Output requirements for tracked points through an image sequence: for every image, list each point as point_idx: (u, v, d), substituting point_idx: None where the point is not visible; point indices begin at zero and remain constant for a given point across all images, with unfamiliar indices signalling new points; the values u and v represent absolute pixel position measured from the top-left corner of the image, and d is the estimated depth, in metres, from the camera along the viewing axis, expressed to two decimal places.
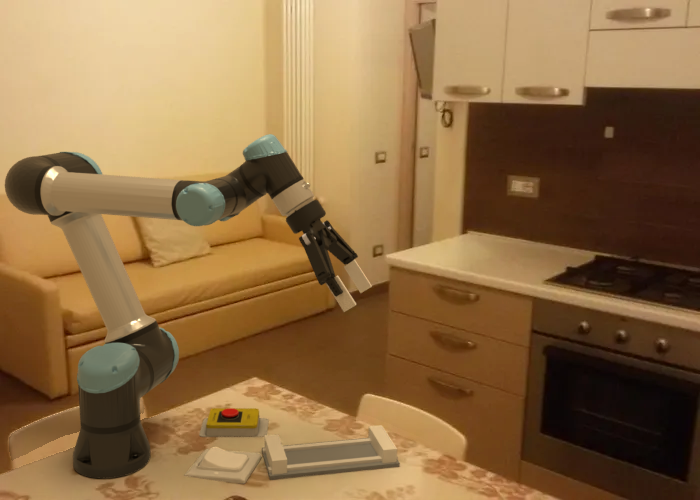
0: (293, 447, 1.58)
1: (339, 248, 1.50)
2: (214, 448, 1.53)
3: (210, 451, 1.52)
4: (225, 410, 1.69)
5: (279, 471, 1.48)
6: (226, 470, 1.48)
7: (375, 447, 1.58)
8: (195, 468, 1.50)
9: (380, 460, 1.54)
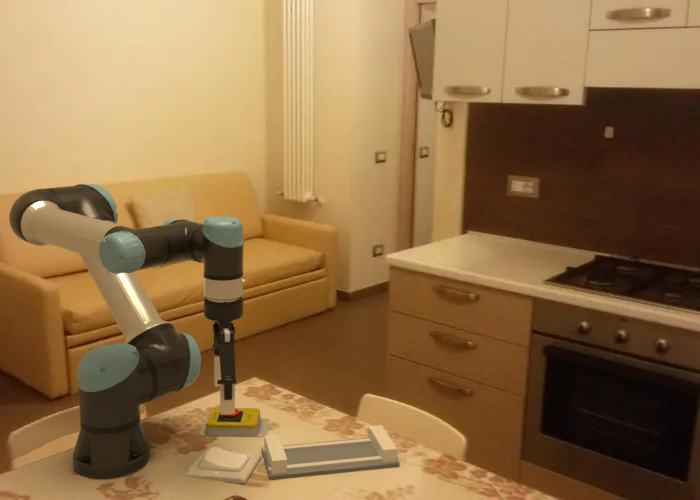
0: (293, 447, 1.58)
1: None
2: (214, 448, 1.53)
3: (210, 451, 1.52)
4: None
5: (279, 471, 1.48)
6: (226, 470, 1.48)
7: (375, 447, 1.58)
8: (195, 468, 1.50)
9: (380, 460, 1.54)
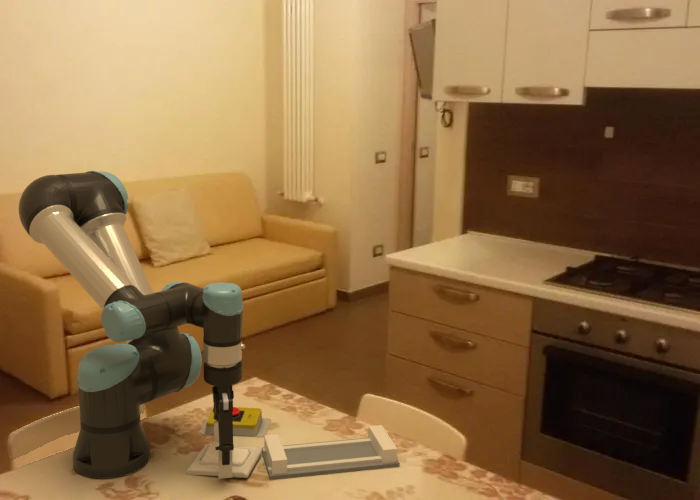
0: (293, 447, 1.58)
1: None
2: (215, 443, 1.54)
3: (211, 446, 1.53)
4: None
5: (279, 471, 1.48)
6: None
7: (375, 447, 1.58)
8: (197, 463, 1.50)
9: (380, 460, 1.54)
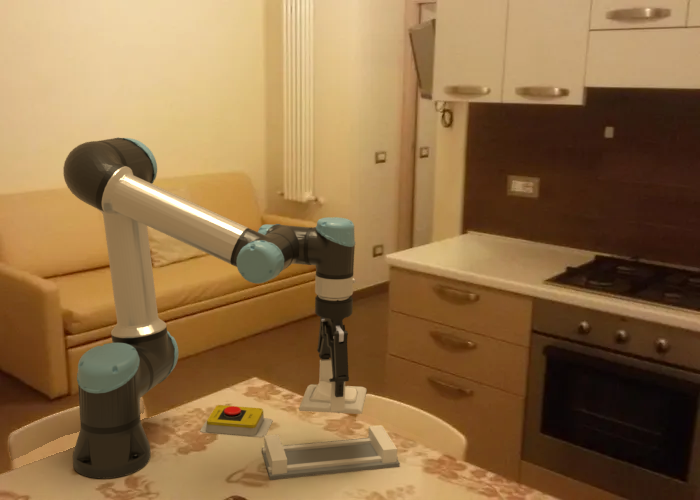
0: (293, 447, 1.58)
1: None
2: (323, 382, 1.56)
3: (320, 385, 1.54)
4: (228, 408, 1.70)
5: (279, 471, 1.48)
6: None
7: (375, 447, 1.58)
8: (308, 401, 1.52)
9: (380, 460, 1.54)
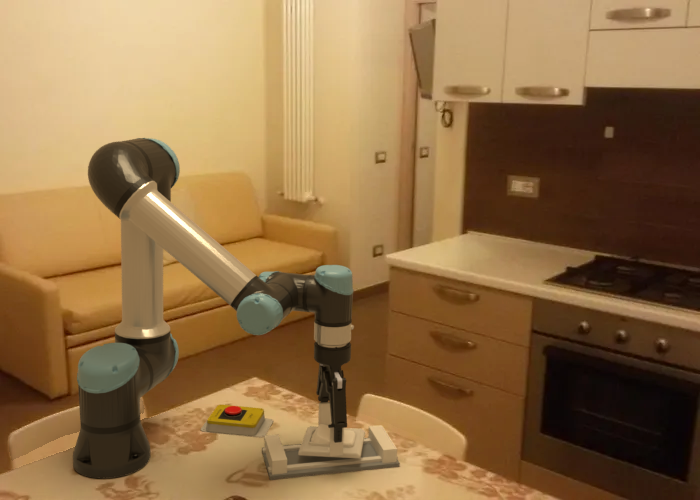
0: (293, 447, 1.58)
1: None
2: (322, 425, 1.58)
3: (320, 428, 1.56)
4: (229, 407, 1.70)
5: (279, 471, 1.48)
6: None
7: (375, 447, 1.58)
8: (307, 445, 1.54)
9: (380, 460, 1.54)
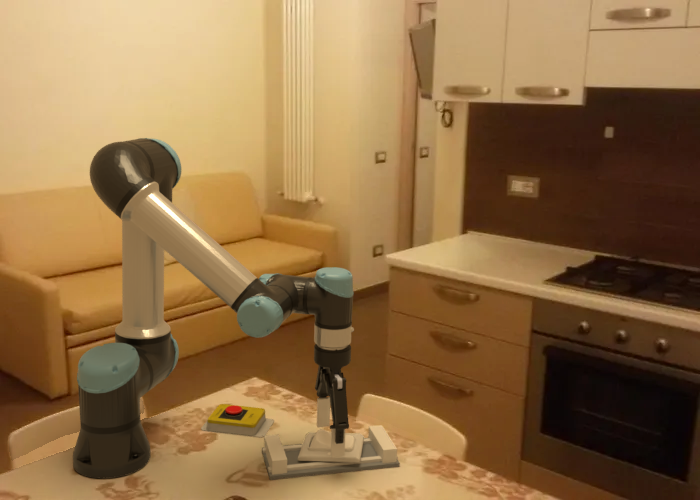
0: (293, 447, 1.58)
1: None
2: (321, 430, 1.58)
3: (318, 433, 1.57)
4: (230, 407, 1.70)
5: (279, 471, 1.48)
6: None
7: (375, 447, 1.58)
8: (307, 450, 1.54)
9: (380, 460, 1.54)
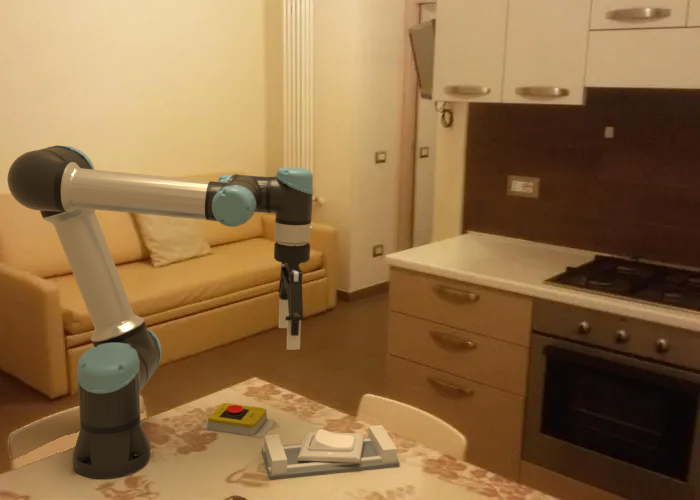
0: (293, 447, 1.58)
1: None
2: (321, 430, 1.58)
3: (318, 433, 1.57)
4: (231, 406, 1.71)
5: (279, 471, 1.48)
6: (339, 450, 1.53)
7: (375, 447, 1.58)
8: (307, 450, 1.54)
9: (380, 460, 1.54)
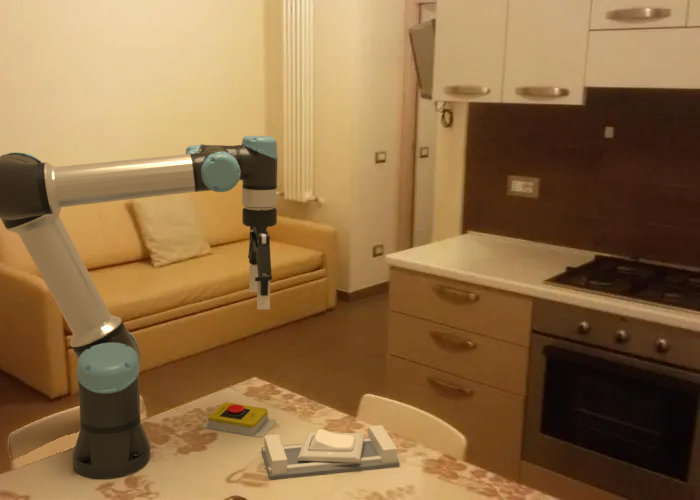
0: (293, 447, 1.58)
1: None
2: (321, 430, 1.58)
3: (318, 433, 1.57)
4: (232, 406, 1.71)
5: (279, 471, 1.48)
6: (339, 450, 1.53)
7: (375, 447, 1.58)
8: (307, 450, 1.54)
9: (380, 460, 1.54)
